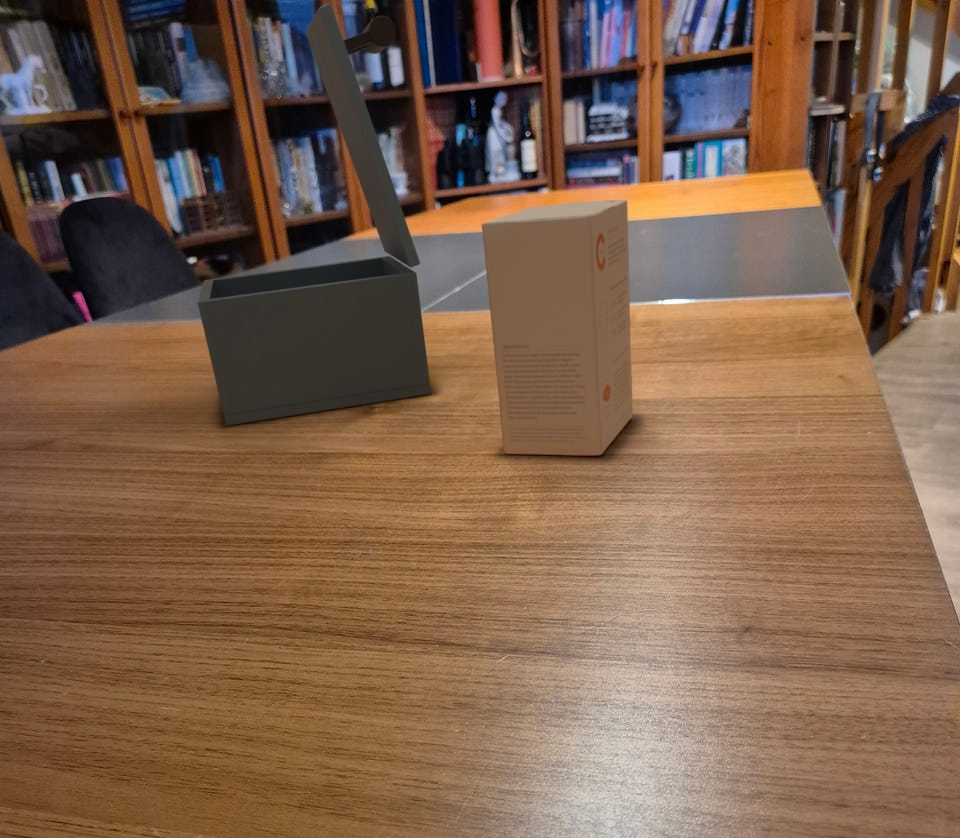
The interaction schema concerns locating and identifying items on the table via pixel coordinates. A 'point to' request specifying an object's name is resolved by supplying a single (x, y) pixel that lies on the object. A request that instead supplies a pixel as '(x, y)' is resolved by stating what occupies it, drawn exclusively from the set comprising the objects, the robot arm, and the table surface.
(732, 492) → the table surface
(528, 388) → the small box
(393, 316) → the cool box
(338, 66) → the cool box lid
